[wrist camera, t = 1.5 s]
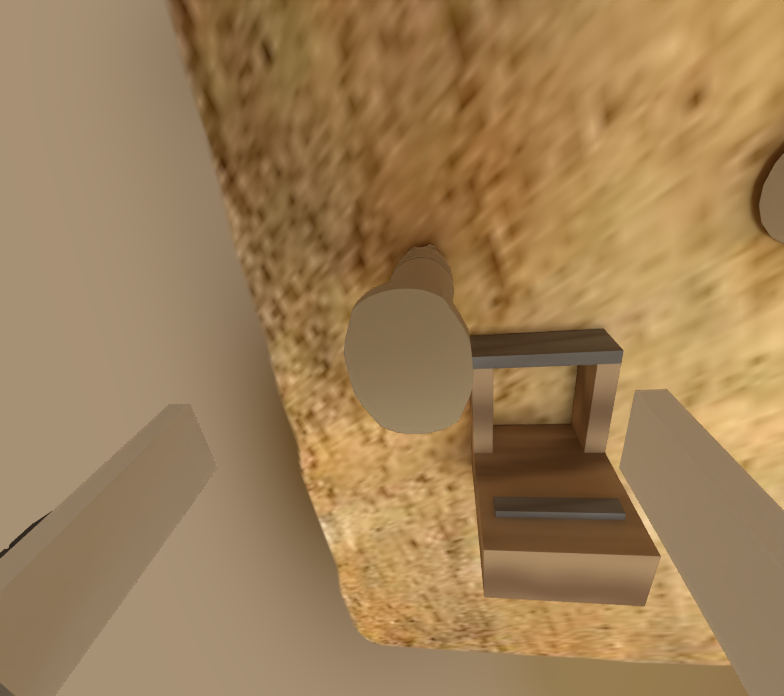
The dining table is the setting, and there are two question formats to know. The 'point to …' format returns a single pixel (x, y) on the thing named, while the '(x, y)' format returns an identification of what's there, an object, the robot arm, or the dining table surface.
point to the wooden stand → (555, 482)
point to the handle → (411, 348)
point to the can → (774, 202)
